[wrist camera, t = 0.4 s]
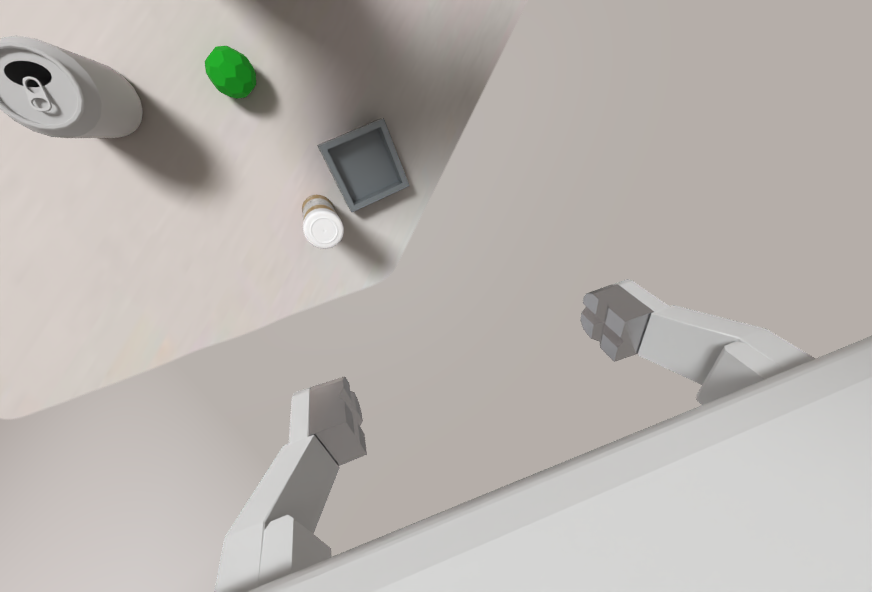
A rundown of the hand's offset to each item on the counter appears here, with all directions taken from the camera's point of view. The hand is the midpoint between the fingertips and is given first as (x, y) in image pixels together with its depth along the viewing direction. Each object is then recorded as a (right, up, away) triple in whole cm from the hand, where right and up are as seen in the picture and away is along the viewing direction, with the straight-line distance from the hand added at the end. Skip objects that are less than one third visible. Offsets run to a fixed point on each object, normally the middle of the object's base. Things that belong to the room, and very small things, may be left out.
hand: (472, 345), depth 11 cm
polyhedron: (-26, +28, +30) cm, 49 cm away
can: (-39, +24, +27) cm, 53 cm away
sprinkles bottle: (-19, +15, +39) cm, 46 cm away
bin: (-12, +21, +39) cm, 46 cm away
